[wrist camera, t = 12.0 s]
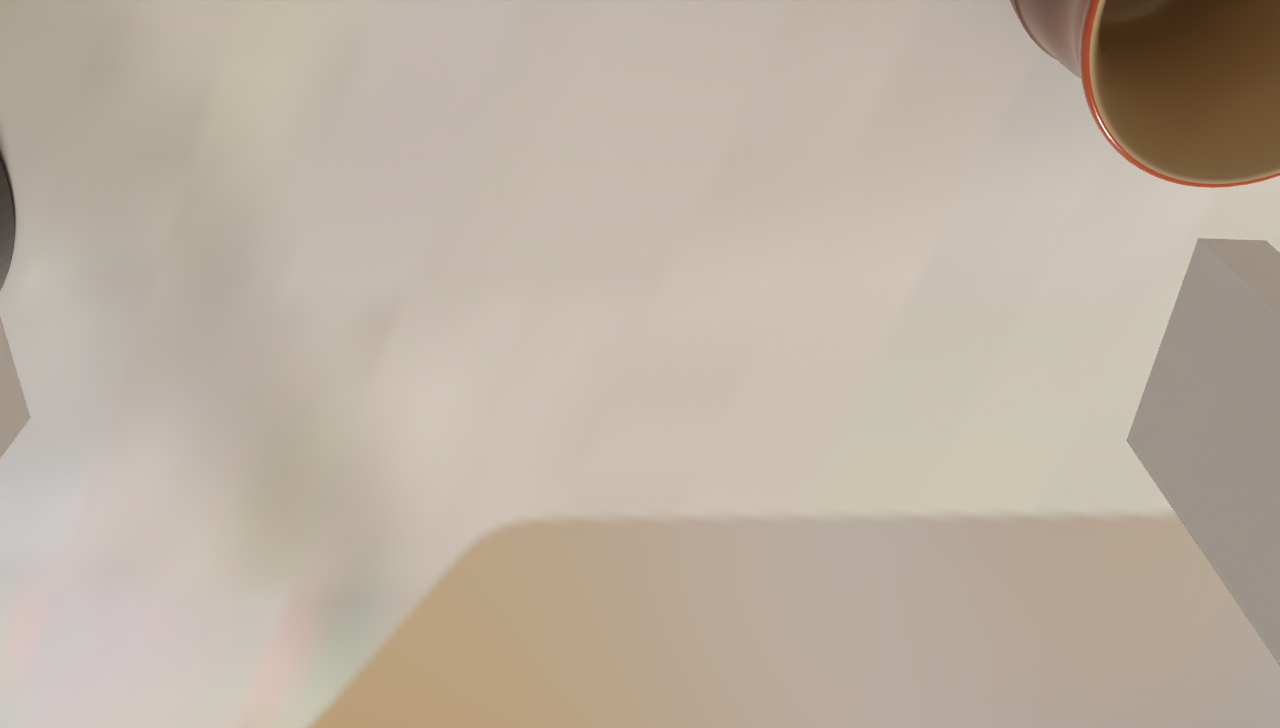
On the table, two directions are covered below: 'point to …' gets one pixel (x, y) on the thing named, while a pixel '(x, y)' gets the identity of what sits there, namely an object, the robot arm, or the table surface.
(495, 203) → the table surface
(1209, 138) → the mug
